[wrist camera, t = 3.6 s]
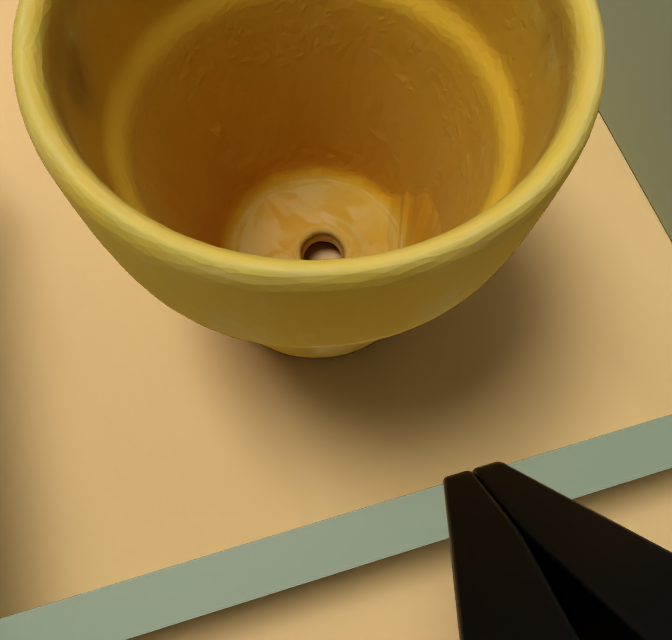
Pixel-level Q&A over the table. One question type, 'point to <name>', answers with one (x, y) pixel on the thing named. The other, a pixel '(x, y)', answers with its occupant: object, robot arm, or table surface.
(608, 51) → the grey-green open frame
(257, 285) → the plant pot
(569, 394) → the table surface
